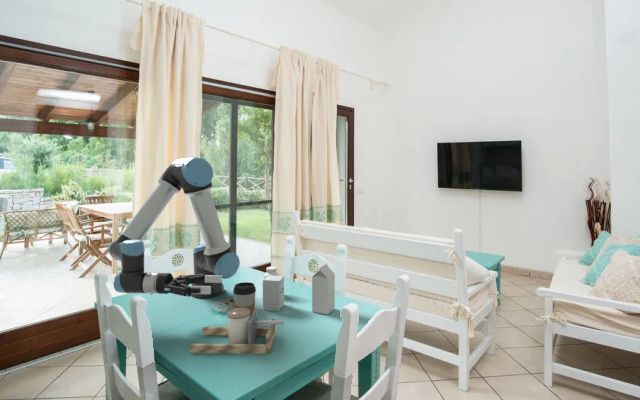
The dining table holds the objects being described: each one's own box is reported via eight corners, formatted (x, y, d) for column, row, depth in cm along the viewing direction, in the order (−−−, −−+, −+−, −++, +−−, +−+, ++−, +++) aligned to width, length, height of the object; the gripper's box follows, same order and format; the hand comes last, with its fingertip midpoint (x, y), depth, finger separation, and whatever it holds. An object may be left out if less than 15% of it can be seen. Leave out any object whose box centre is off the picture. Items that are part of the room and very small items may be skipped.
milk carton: (334, 308, 146) (335, 264, 145) (327, 315, 140) (328, 268, 139) (319, 306, 149) (319, 262, 148) (312, 312, 143) (312, 266, 142)
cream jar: (223, 346, 115) (222, 314, 114) (236, 336, 121) (235, 306, 121) (242, 350, 112) (242, 317, 111) (254, 340, 119) (254, 309, 118)
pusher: (247, 350, 111) (247, 322, 111) (254, 335, 122) (253, 310, 121) (282, 350, 111) (282, 323, 111) (285, 335, 122) (285, 310, 121)
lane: (189, 353, 110) (189, 336, 110) (204, 333, 124) (203, 318, 123) (269, 353, 110) (269, 336, 110) (275, 334, 123) (275, 318, 123)
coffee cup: (235, 320, 135) (234, 282, 134) (257, 319, 136) (256, 281, 135) (231, 329, 127) (231, 289, 126) (255, 328, 127) (254, 288, 126)
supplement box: (279, 311, 144) (279, 281, 143) (262, 309, 145) (262, 280, 144) (284, 304, 151) (284, 275, 150) (268, 303, 153) (268, 274, 152)
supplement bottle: (267, 298, 159) (266, 270, 158) (262, 293, 165) (262, 267, 164) (280, 295, 162) (280, 268, 161) (275, 291, 168) (275, 265, 167)
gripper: (173, 283, 142) (225, 284, 142) (142, 305, 117) (205, 306, 117) (173, 265, 142) (225, 266, 142) (141, 283, 117) (205, 284, 117)
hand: (216, 284), depth 130 cm, fingers open, 13 cm apart
